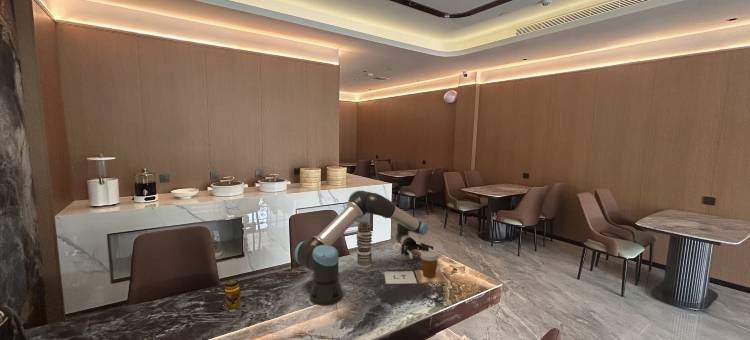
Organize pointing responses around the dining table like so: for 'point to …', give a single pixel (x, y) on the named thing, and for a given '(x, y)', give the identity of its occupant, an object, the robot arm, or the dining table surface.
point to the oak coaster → (436, 279)
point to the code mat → (400, 277)
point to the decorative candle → (364, 245)
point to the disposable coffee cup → (429, 263)
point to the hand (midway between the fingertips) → (423, 255)
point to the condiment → (232, 295)
